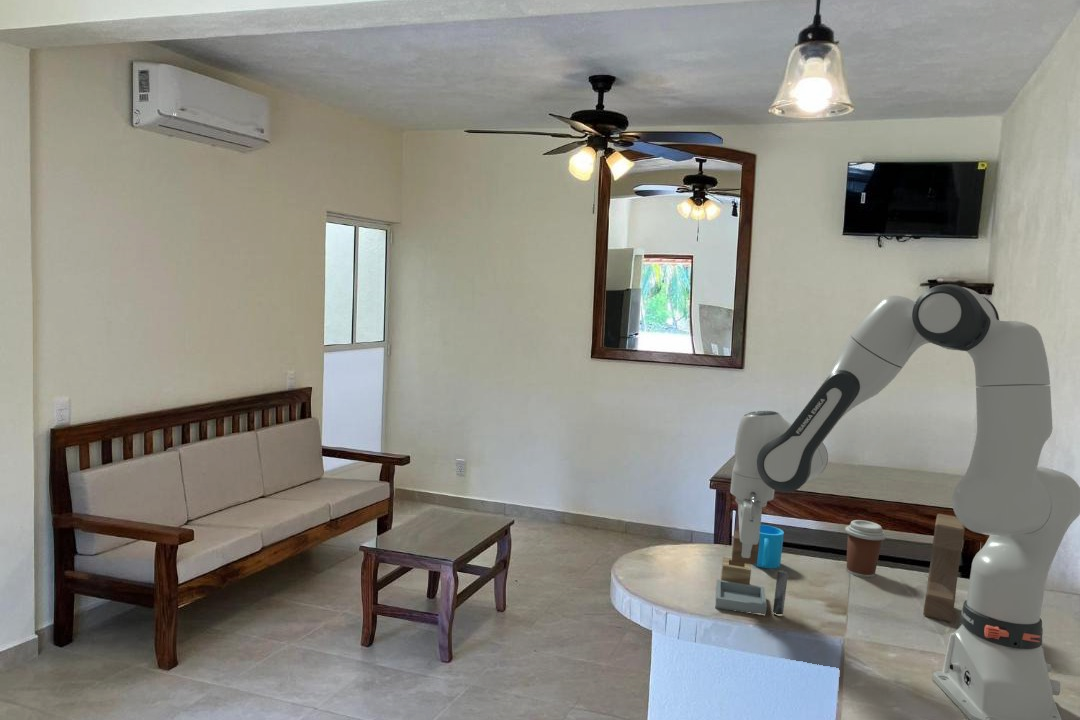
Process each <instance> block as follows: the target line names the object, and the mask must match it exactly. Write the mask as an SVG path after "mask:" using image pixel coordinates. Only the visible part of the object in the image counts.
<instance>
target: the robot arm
mask: <svg viewBox="0 0 1080 720" xmlns="http://www.w3.org/2000/svg"><path fill="white" fill-rule="evenodd" d="M927 344H933V345H936V346H939V347H941V348H943V349H946V350H952V351H959V352H961V351H962V352H966V353H968V354H969V356H970V357H971V358H972V361H973V365H974V372H975V373H974V375H975V395H976V396H975V397H976V436H975V442H974V446H973V449H972V450H973V451H972V454H971V458H970V462H969V464H968V467H967V470H966V471H965V473H964V475H963V476H962V478H961V479H960V480H959V481H958V483H957V484H956V485H955V487H954V489H953V491H952V495H951V496H952V497H951V505H952V509H953V512H954V515H955V517H957V518H958V520H959V521H960V522H961V523H962V524H963V525H964V526H965V528H966V529H968V530H969V531H971V532H973V533H977V534H982V535H986V536H988V538H987V540H986V542H985V543H984V545H983V546H982V548H981V549H980V550H979V551H978V552H977V553H976V554H975V556H974V557H973V559H972V562H971V568H970V575H969V584H968V589H967V596H966V597H967V598H966V600H964V602H963V606H962V608H961V611H960V613H961V618H960V623H961V625H960V626H959V627H958V629H957V630H955V631H954V632H952V633H951V634H950V635H949V638H948V642H947V646H946V650H945V657H944V660H943V661H944V662H943V666H942V670H936V671H934V672H933V674H932V677H931V679H932V680H933V681H934V682H935V684H936V685H938V686H939V688H940V689H941V690H942V691H943V692H944V693H945V694H946V695H947V697H949V699H950V700H951V701H952V702H953V703H954V705H956V707H958V708H959V709H960V711H962V713H963V714H964V715H965V716H966V717H967V718H968V719H969V720H1062V717H1061V715H1060V712H1059V709H1058V707H1057V704H1056V701H1055V699H1054V696H1060V693H1061V682H1060V681H1059V680H1056V679H1052V678H1050V673H1051V672H1052V664H1051V663H1047V661H1046V659H1045V658H1046V657H1045V653H1044V648H1043V647H1042V646H1043V635H1044V629H1043V628H1044V627H1043V620H1042V618H1041V615H1042V614H1041V613H1042V607H1043V601H1044V596H1045V595H1044V594H1045V589H1046V585H1047V579H1048V575H1049V571H1050V569H1051V566H1052V564H1053V561H1054V559H1055V557H1056V554H1057V553H1058V550H1059V548H1060V546H1061V543H1062V541H1063V539H1064V536H1066V532H1067V531H1068V529H1069V528H1070V526H1071V524H1073V522H1074V521H1076V520H1077V519H1078V518H1079V516H1080V485H1079V484H1078V482H1077V481H1076V480H1075V479H1073V477H1072V476H1070V475H1068V474H1067V473H1064V472H1062V471H1060V470H1056V469H1052V468H1049V467H1048V468H1047V467H1043V466H1038V465H1039V461H1040V457H1041V454H1042V450H1043V448H1044V445H1045V444H1046V442H1047V440H1049V438H1050V437H1051V435H1052V432H1053V412H1052V411H1053V410H1052V395H1051V394H1052V392H1051V380H1050V378H1051V376H1050V370H1049V363H1048V357H1047V353H1046V348H1045V345H1044V341H1043V337H1042V334H1041V333H1040V331H1039V330H1038V328H1036V327H1035V326H1033V325H1031V324H1029V323H1026V322H1022V321H1018V320H1017V321H1016V320H1007V321H1006V320H1000V316H999V313H998V311H997V308H996V307H995V305H994V304H993V302H991V301H990V300H989V299H988V298H986V297H985V296H982V295H981V294H980V293H979V292H977V291H975V290H973V289H971V288H968V287H964V286H960V285H957V284H951V283H947V284H946V283H945V284H940V285H935V286H932V287H931V288H930V287H929V288H928V289H926V290H924V292H923V293H922V294H920V295H919V297H918V298H917V299H916V300H915V301H914V300H912V299H910V298H908V297H905V296H901V295H900V296H899V295H889V296H887V297H884V298H883V299H881V300H880V301H879V302H877V304H876V305H875V306H874V307H873V308H872V309H871V310H870V311H869V312H868V313H867V314H866V315H865V316H864V318H863V319H862V320H861V321H860V322H859V323H858V325H857V326H856V327H855V328H854V330H853V332H851V334H850V336H849V337H848V338H847V340H846V341H845V342H844V344H843V346H842V347H841V349H840V351H839V352H838V354H837V356H836V358H835V360H834V361H833V364H832V365H831V367H830V368H829V370H828V373H827V374H826V376H825V377H824V379H823V381H822V383H820V386H819V388H818V389H817V391H816V392H815V393H814V394H813V396H812V398H811V399H810V400H809V401H808V403H807V404H806V405H805V407H804V408H803V409H802V411H801V412H800V413H799V415H798V416H796V418H795V419H794V421H793V422H792V424H791V423H790V422H788V421H787V419H785V418H784V417H783V416H782V415H781V414H780V413H779V412H776V411H773V410H772V411H771V410H758V411H751V412H748V413H746V414H744V415H742V417H741V419H740V421H739V424H738V425H739V426H738V428H737V433H736V440H735V446H734V453H735V455H734V456H735V461H734V465H733V467H732V472H731V473H732V474H731V478H730V479H731V481H730V488H729V489H730V490H729V492H730V494H731V495H732V496H734V497H735V499H734V501H735V502H736V503H737V512H738V528H739V530H738V532H739V533H740V542H742V551H741V556H742V557H743V558H750V555H751V549H752V545H753V544H754V545H757V544H758V541H759V535H760V525H762V511H763V510H762V508H765V507H767V503H768V502H769V501H772V500H774V498H775V491H776V492H780V493H792V492H794V491H797V490H799V489H800V488H802V486H803V485H805V484H807V482H809V481H812V479H815V478H816V477H818V476H819V475H820V474H821V473H823V472H824V470H825V469H826V467H827V464H828V460H829V453H828V450H827V447H826V445H825V444H824V443H823V442H824V440H826V438H827V437H828V435H829V434H830V433H831V432H832V430H833V429H834V428H835V426H837V424H838V423H839V421H840V420H842V419H843V417H845V415H846V414H848V413H849V412H850V411H851V410H852V409H854V408H856V407H857V406H858V405H861V404H862V403H864V402H866V401H868V400H869V399H871V398H873V397H875V396H876V395H878V394H879V393H880V392H881V391H883V390H884V389H885V388H886V387H887V386H888V385H889V384H890V383H891V382H892V381H893V380H894V379H895V378H896V377H897V375H898V374H899V373H900V372H901V371H902V369H903V368H904V366H905V365H906V364H907V362H908V361H909V359H910V358H911V357H912V356H913V354H914V353H915V352H916V351H917V350H918V349H919V348H920V347H922V346H923V345H927Z"/></svg>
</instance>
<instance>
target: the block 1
mask: <svg viewBox="0 0 1080 720" xmlns="http://www.w3.org/2000/svg"><path fill="white" fill-rule="evenodd" d="M758 550H759V541H758V544H757V545H754V544H753V545H752V549H751V555H750V558H743V557H742V556H741V551H742V542H740V533H739V530H738V531H736V530H735V531H733V540H732V548H731V558H732V561H733V562H739V563H746V564H751V565H752V566H755V565H757V559H758Z"/></svg>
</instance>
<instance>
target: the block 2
mask: <svg viewBox="0 0 1080 720" xmlns="http://www.w3.org/2000/svg"><path fill="white" fill-rule="evenodd" d="M751 565H752V564H746V563H739V562H733V561H732V557H731V558H730V557H725V556H723V557H722V563H721V575H720V580H723V581H729V582H735V583H742V584H748V585H751V584H750V583H751V577H752V576H751V575H752V566H751Z"/></svg>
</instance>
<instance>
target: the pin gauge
mask: <svg viewBox="0 0 1080 720" xmlns="http://www.w3.org/2000/svg"><path fill="white" fill-rule="evenodd" d="M788 574H789V572H787V571H786V570H782V569H781V570H779V569H778V571H777V575H776V582H775V592H774V599H773V610H772V613H773V612H774V613H776V614H783V615H784V609H785V601H786V592H787V591H786V590H787V582H788Z"/></svg>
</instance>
